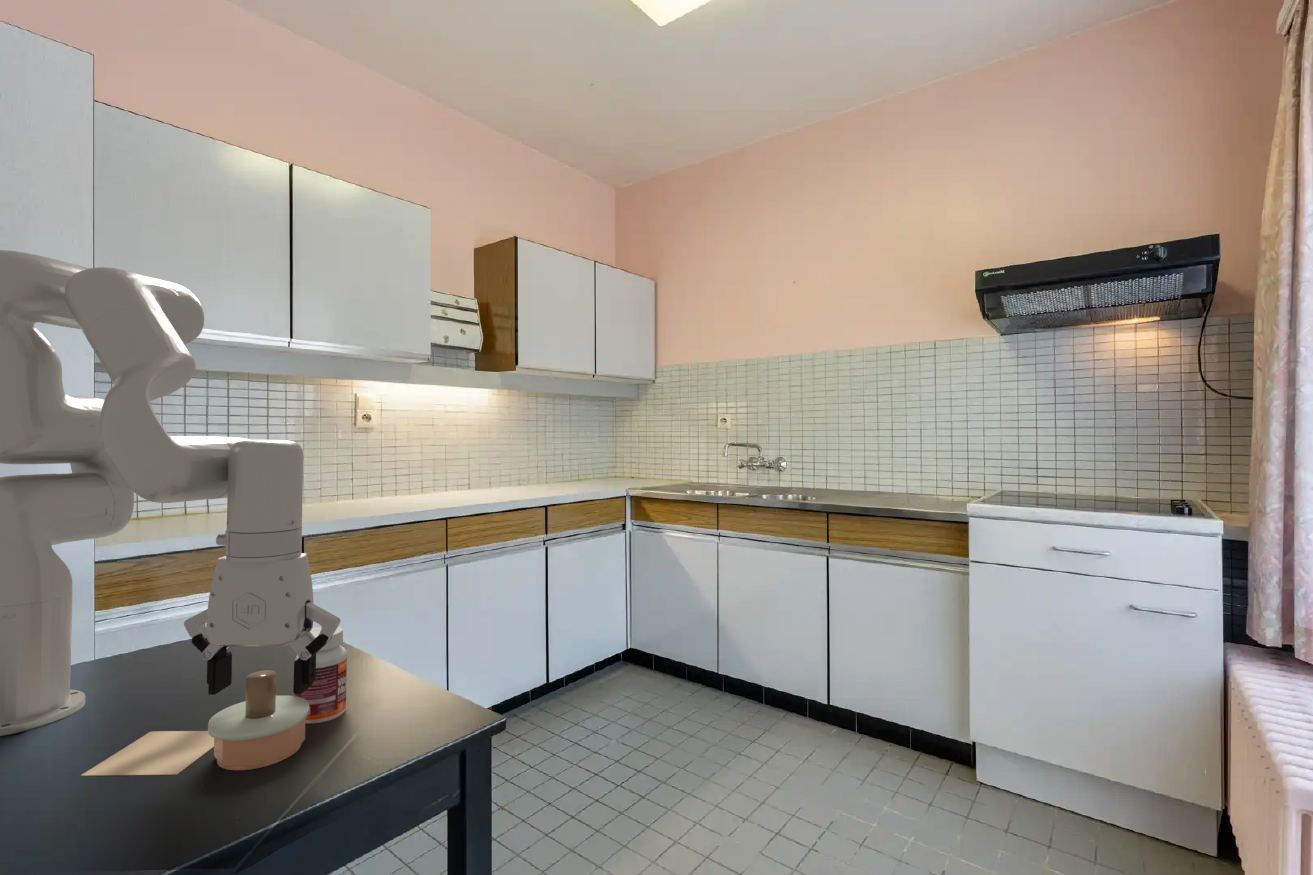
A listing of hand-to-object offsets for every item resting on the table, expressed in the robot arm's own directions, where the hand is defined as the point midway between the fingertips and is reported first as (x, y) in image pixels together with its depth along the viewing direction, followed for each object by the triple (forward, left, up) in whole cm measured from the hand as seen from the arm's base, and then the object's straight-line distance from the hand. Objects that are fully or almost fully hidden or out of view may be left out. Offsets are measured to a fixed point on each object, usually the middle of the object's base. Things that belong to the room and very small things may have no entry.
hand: (261, 689), depth 73 cm
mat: (-11, 0, -8) cm, 13 cm away
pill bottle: (+2, +10, -8) cm, 13 cm away
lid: (0, 0, -4) cm, 4 cm away
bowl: (0, 0, -8) cm, 8 cm away
